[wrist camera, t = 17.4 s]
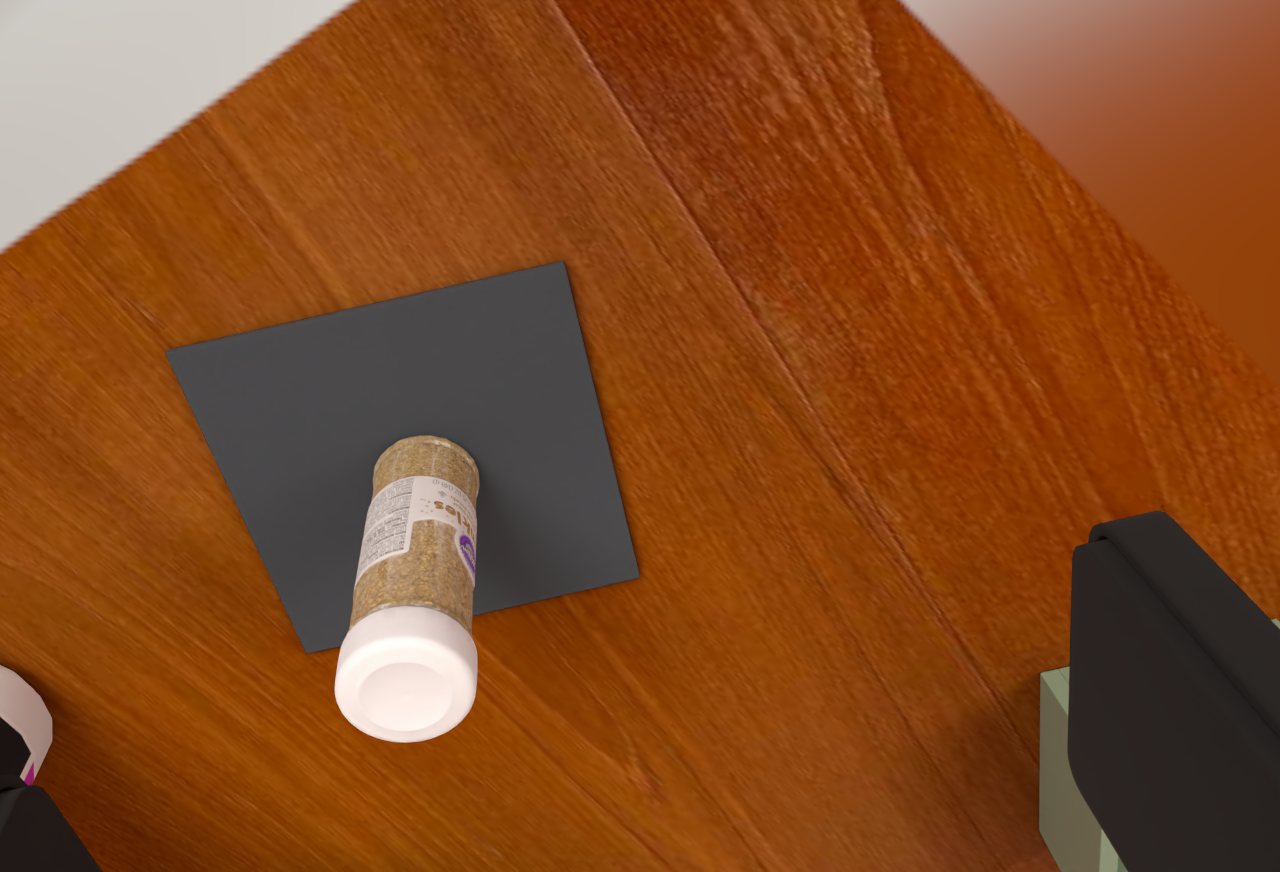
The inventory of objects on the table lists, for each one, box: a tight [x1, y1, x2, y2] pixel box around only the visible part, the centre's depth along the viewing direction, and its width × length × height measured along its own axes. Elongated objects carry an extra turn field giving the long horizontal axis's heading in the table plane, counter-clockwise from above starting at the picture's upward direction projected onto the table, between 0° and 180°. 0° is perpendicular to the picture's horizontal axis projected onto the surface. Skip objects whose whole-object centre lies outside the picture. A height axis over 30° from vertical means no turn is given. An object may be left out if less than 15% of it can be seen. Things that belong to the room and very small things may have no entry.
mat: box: [166, 261, 640, 654], centre depth 46 cm, size 16×16×1 cm
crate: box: [1039, 619, 1280, 872], centre depth 58 cm, size 13×13×7 cm
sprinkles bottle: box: [335, 435, 479, 742], centre depth 40 cm, size 5×5×13 cm
